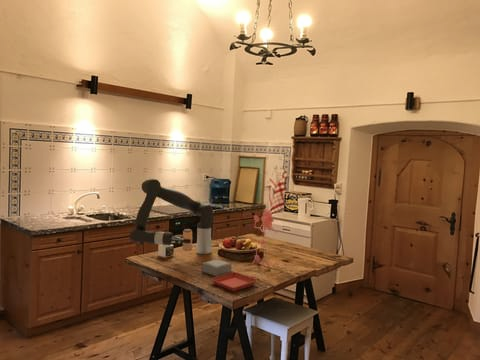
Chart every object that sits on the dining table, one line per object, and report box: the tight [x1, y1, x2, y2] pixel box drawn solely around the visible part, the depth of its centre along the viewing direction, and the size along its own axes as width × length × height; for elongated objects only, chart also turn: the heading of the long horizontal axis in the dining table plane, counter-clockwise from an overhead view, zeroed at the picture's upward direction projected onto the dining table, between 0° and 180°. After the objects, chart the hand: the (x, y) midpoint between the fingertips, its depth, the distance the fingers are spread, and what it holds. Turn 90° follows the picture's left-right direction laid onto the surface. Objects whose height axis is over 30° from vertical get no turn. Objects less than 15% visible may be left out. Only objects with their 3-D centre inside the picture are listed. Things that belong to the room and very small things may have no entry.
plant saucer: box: [210, 271, 258, 292], centre depth 214 cm, size 18×18×3 cm
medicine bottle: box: [157, 244, 175, 259], centre depth 262 cm, size 7×7×12 cm
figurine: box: [252, 208, 278, 269], centre depth 249 cm, size 15×26×35 cm, turn 28°
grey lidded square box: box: [201, 258, 232, 277], centre depth 234 cm, size 12×12×5 cm
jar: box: [182, 228, 193, 252], centre depth 235 cm, size 5×5×12 cm
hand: (191, 240), depth 235 cm, fingers closed on jar, 5 cm apart
